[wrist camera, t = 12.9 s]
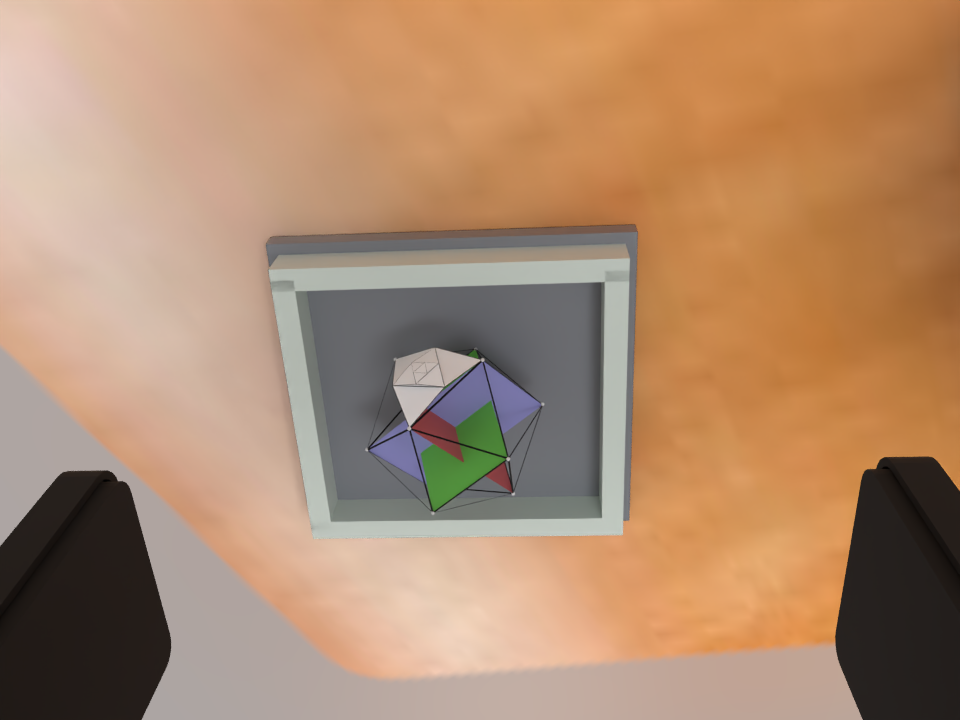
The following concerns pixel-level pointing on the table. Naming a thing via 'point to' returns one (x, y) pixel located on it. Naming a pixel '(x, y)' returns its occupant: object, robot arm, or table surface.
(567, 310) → the shallow square tray
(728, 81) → the table surface
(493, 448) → the geometric puzzle
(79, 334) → the table surface
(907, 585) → the robot arm
